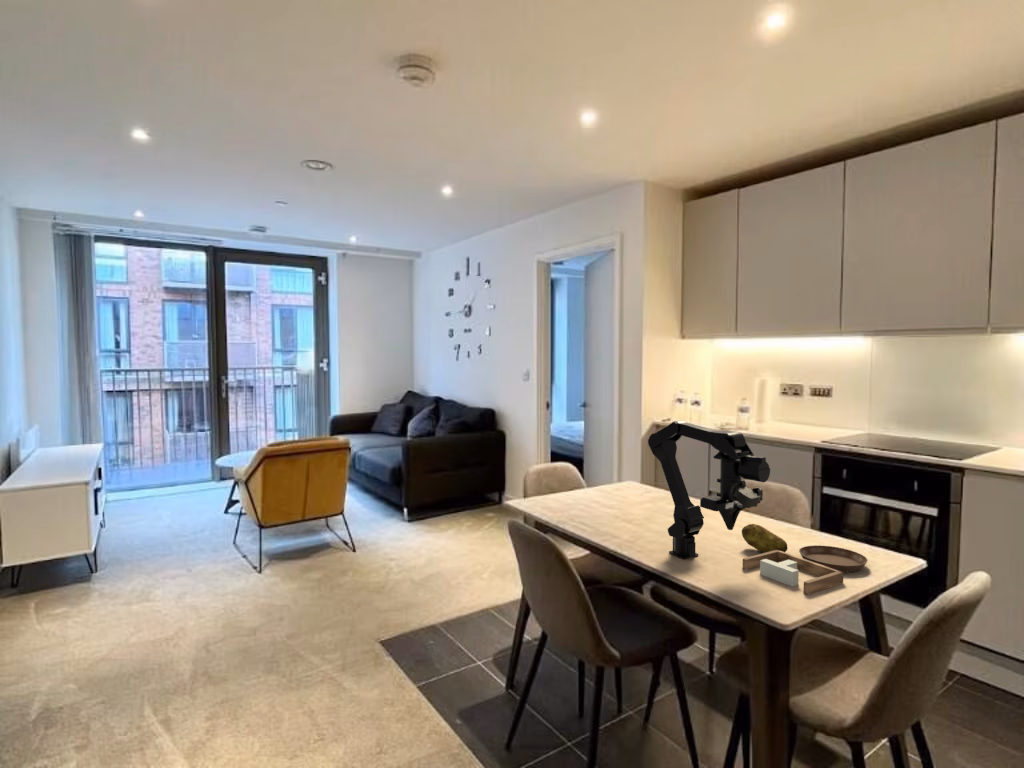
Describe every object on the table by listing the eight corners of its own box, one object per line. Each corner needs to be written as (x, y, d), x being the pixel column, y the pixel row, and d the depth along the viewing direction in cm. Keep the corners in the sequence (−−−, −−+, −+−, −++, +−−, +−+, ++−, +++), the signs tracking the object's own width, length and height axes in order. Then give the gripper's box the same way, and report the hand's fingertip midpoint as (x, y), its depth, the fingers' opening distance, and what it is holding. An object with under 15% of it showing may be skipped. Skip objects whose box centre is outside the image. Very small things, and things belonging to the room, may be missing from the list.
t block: (760, 574, 162) (760, 560, 161) (776, 568, 165) (777, 555, 165) (792, 586, 153) (792, 572, 153) (809, 580, 157) (809, 566, 157)
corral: (742, 568, 166) (742, 558, 166) (777, 559, 173) (777, 549, 173) (807, 594, 148) (807, 583, 148) (843, 583, 155) (843, 572, 155)
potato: (776, 560, 172) (777, 534, 172) (737, 548, 183) (737, 524, 182) (790, 554, 177) (790, 528, 177) (751, 543, 188) (751, 519, 187)
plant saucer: (806, 550, 182) (806, 540, 182) (871, 562, 171) (871, 552, 170) (792, 566, 168) (792, 556, 168) (861, 581, 157) (862, 570, 157)
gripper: (731, 485, 151) (730, 543, 152) (777, 477, 160) (776, 532, 161) (699, 477, 161) (698, 531, 162) (744, 470, 170) (743, 522, 171)
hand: (730, 529), depth 164 cm, fingers closed
